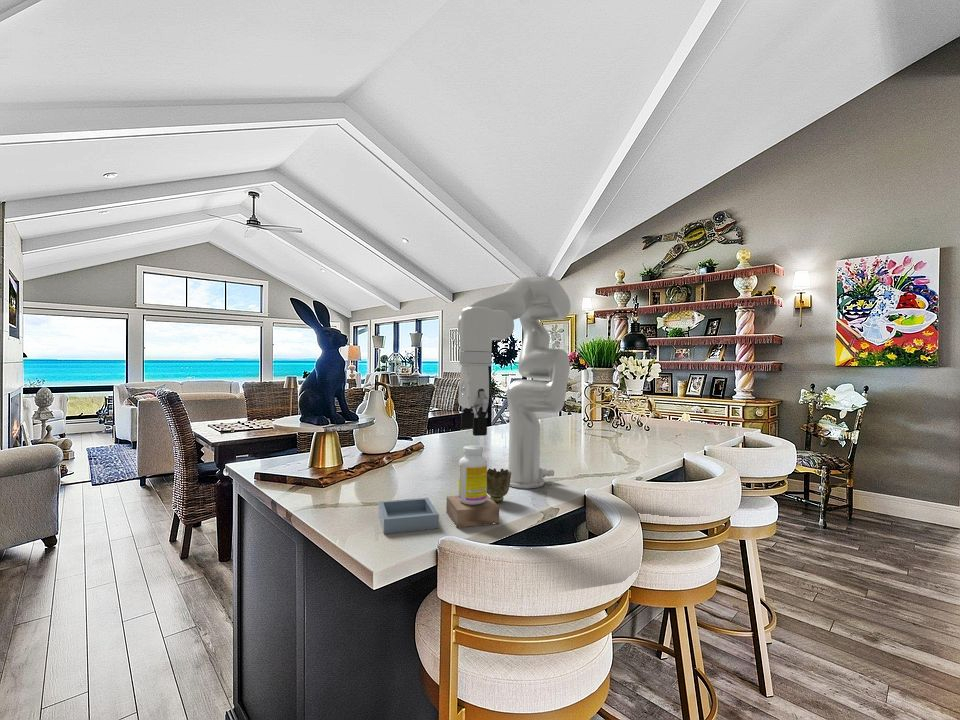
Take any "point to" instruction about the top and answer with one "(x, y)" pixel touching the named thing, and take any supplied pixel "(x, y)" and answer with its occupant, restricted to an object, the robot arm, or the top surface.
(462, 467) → the supplement bottle
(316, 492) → the top surface
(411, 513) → the slate ceramic holder
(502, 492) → the cup
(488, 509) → the walnut riser block
